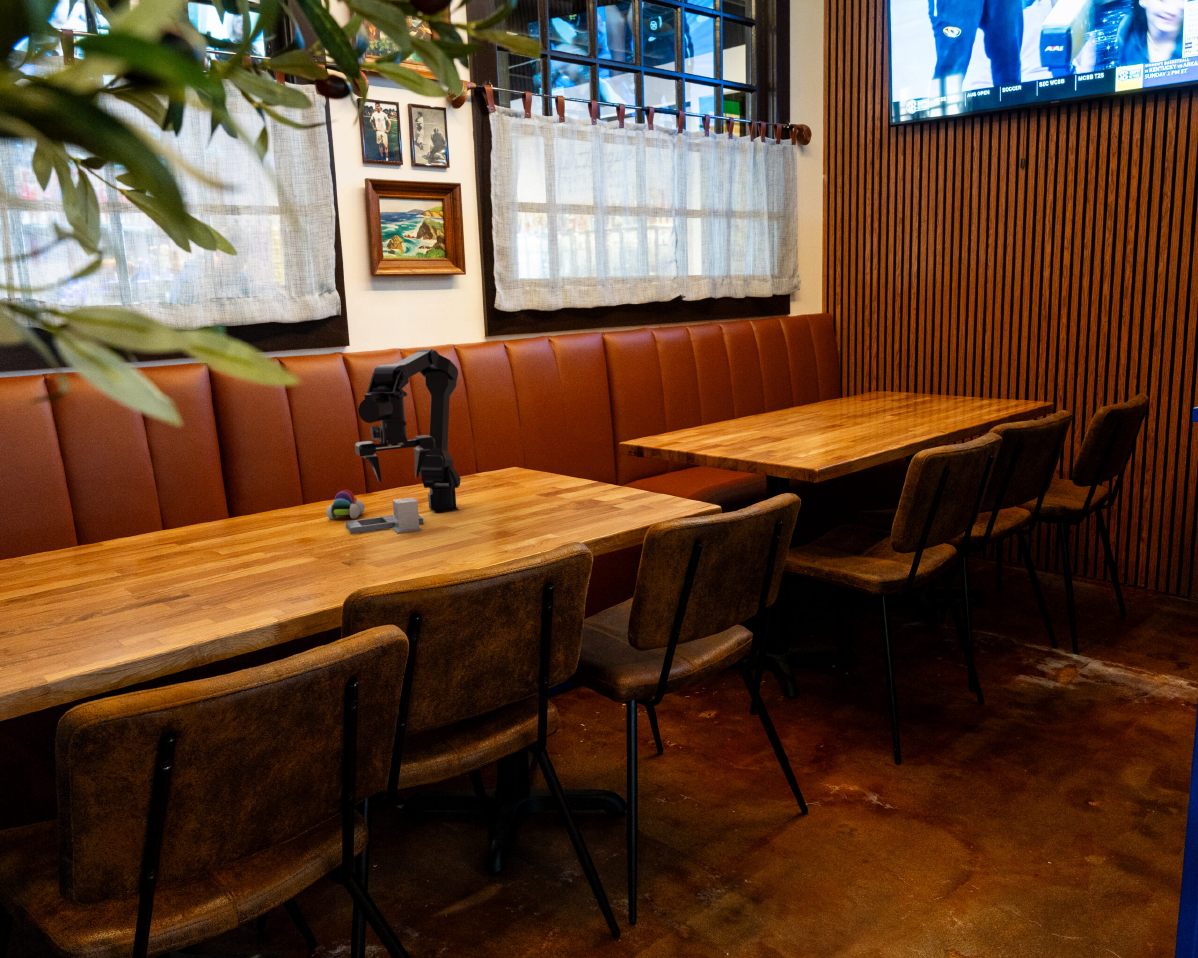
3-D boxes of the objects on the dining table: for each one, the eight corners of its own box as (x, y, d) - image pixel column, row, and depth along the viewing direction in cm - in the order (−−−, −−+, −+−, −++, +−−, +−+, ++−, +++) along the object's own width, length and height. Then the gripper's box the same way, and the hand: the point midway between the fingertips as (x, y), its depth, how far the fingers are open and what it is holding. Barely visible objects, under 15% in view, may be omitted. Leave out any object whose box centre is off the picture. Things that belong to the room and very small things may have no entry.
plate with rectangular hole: (415, 517, 256) (415, 512, 256) (423, 524, 249) (422, 518, 249) (345, 527, 249) (345, 521, 249) (351, 533, 242) (350, 527, 242)
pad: (416, 525, 248) (415, 523, 248) (421, 530, 242) (421, 528, 242) (392, 528, 245) (392, 527, 245) (397, 533, 240) (397, 532, 240)
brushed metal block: (414, 524, 247) (412, 497, 246) (419, 528, 243) (417, 501, 241) (394, 527, 245) (392, 499, 244) (399, 531, 241) (397, 503, 239)
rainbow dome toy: (367, 512, 265) (365, 486, 264) (355, 521, 256) (353, 494, 255) (337, 513, 266) (334, 487, 265) (324, 521, 257) (321, 494, 255)
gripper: (421, 410, 251) (426, 470, 254) (347, 417, 243) (353, 479, 246) (433, 414, 241) (438, 477, 244) (357, 422, 233) (363, 486, 236)
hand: (398, 479), depth 243 cm, fingers open, 9 cm apart
